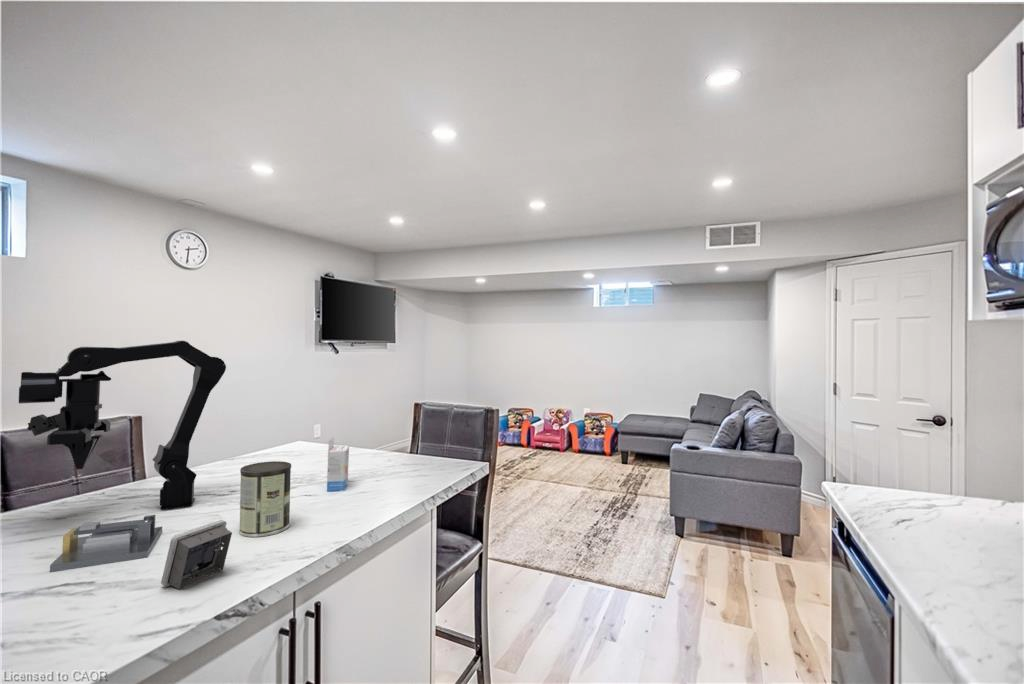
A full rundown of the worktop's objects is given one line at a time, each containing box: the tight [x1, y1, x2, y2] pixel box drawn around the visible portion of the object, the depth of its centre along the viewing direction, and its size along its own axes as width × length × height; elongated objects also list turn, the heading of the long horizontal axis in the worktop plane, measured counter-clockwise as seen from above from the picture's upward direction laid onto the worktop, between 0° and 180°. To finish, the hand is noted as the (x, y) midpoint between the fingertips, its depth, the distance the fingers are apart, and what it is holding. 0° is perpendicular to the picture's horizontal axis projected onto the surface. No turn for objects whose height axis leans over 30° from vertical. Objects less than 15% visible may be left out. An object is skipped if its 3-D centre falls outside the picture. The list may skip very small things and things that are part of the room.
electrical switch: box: [160, 519, 233, 590], centre depth 82 cm, size 9×5×9 cm, turn 158°
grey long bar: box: [74, 517, 153, 536], centre depth 93 cm, size 12×3×2 cm, turn 118°
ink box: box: [326, 435, 350, 492], centre depth 138 cm, size 8×5×15 cm, turn 13°
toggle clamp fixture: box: [49, 514, 163, 573], centre depth 93 cm, size 14×14×5 cm
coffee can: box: [238, 460, 292, 538], centre depth 105 cm, size 10×10×14 cm
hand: (80, 468), depth 106 cm, fingers closed
